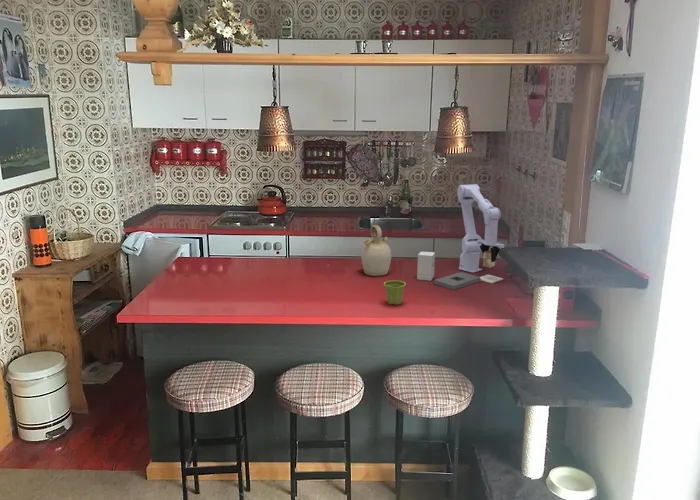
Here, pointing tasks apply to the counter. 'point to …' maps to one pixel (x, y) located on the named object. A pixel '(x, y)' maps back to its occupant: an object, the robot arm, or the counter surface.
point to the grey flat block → (461, 278)
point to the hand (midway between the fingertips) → (489, 260)
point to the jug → (376, 254)
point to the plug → (488, 259)
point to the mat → (490, 278)
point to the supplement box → (425, 265)
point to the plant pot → (394, 291)
